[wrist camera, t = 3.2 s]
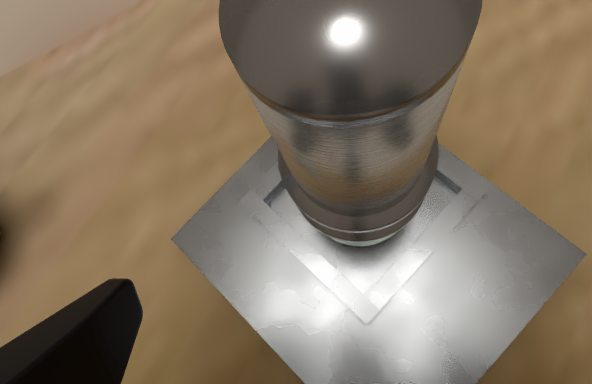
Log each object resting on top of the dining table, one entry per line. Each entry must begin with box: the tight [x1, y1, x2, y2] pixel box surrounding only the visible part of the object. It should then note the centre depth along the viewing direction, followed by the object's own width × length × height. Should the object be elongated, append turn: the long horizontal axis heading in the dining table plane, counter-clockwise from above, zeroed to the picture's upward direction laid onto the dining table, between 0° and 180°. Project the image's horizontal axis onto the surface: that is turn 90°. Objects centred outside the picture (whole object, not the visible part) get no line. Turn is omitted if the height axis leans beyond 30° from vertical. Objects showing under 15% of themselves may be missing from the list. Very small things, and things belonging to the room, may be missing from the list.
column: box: [219, 0, 482, 247], centre depth 14 cm, size 5×5×13 cm
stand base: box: [171, 136, 586, 384], centre depth 19 cm, size 14×12×4 cm
